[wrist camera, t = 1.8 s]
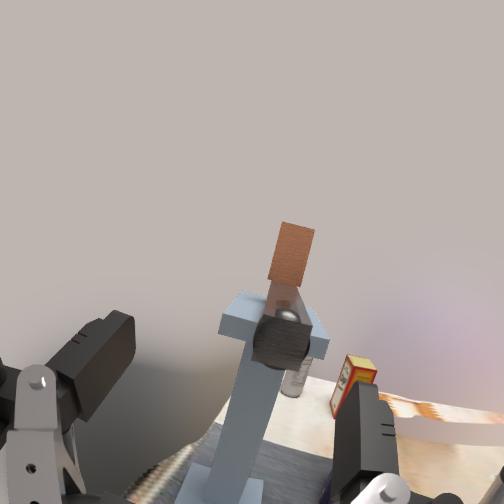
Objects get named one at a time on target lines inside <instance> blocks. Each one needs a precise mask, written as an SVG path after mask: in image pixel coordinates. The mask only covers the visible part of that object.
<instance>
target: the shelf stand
mask: <svg viewBox="0 0 504 504" xmlns="http://www.w3.org/2000/svg"><path fill="white" fill-rule="evenodd" d="M266 300H267V297H266V296H262V295H258V294H254V293H250V292H247V291H242V292H241V293H240V294H239V295H238V296H237V297H236V299H235V300H234V301H233V302H232V303H231V304H230V306H229V307H228V308H227V309H226V310H225V311H224V312H223V314H222V318H221V322H220V327H219V331H218V334H221V335H225V336H228V337H232V338H236V339H240V340H243V341H246V343H245V347H244V350H243V354H242V358H241V362H240V365H239V369H238V373H237V377H236V380H235V384H234V388H233V391H232V395H231V399H230V403H229V406H228V410H227V413H226V417H225V421H224V424H223V428H222V432H221V435H220V439H219V442H218V446H217V450H216V453H215V457H214V460H213V464H212V467H211V468H210V467H206V466H203V465H200V464H196V463H193V462H192V464H191V466H190V468H189V470H188V473H187V475H186V477H185V480H184V482H183V484H182V486H181V489H180V491H179V493H178V495H177V498H176V500H175V502H174V504H261V501H262V491H263V480H259V479H254V478H250V477H249V475H250V472H251V470H252V467H253V464H254V461H255V459H256V456H257V453H258V450H259V448H260V445H261V442H262V439H263V436H264V433H265V430H266V428H267V425H268V422H269V419H270V416H271V413H272V410H273V407H274V404H275V401H276V398H277V395H278V391H279V388H280V385H281V382H282V379H283V376H284V373H285V370H274V369H271V368H268V367H266V366H265V365H263V364H262V363H258V362H254V361H251V357H252V353H253V337H254V333H255V330H256V327H257V323H258V320H259V317H260V314H261V312H262V310H263V308H264V307H265V304H266ZM305 308H306V310H307V313H308V315H309V318H310V320H311V322H312V325H313V328H312V331H311V335H310V349H309V352H308V355H307V356H308V357H313V358H317V359H322V360H324V357H325V354H326V350H327V347H328V344H329V341H330V339H329V337H328V336H327V334H326V332H325V330H324V328H323V326H322V325H321V322H320V321H319V319H318V317H317V315H316V313H315V311H314V310H313V308H310V307H306V306H305Z"/></svg>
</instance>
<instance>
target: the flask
mask: <svg viewBox="0 0 504 504" xmlns="http://www.w3.org/2000/svg"><path fill="white" fill-rule="evenodd" d="M331 481H332V470H331V472H330V474H329V476H328V477H327V480H326V482H325V483H326V485H325V487H324V488H323V494H321V495H322V496H321V498H320V499H319V502H318V503H319V504H333V503H334V501H333V500H330V492H331Z"/></svg>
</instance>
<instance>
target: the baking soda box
mask: <svg viewBox="0 0 504 504" xmlns="http://www.w3.org/2000/svg"><path fill="white" fill-rule="evenodd" d="M376 373H377V369H376V368H375V367H374V366H373V364H372V363H371V361H370V360H369V359H367V358H362V357H357V356H352V355H347V356H346V359H345V362H344V365H343V368H342V371H341V373H340V376H339V379H338V382H337V385H336V387H335V390H334V393H333V395H332V398H331V401H330V403H329V404H330V407H331V411H332V414H333V418H334V419H336V416H337V413H338V410H339V408H340V406H341V404H342V403H343V401H344V399H345V398H346V396H347V394H348V392H349V391H350V389H351V387H352V385H353V384H354V382H355V381H360V382H366V383H371V384H373V381H374V379H375V376H376Z"/></svg>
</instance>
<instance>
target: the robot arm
mask: <svg viewBox="0 0 504 504" xmlns="http://www.w3.org/2000/svg"><path fill="white" fill-rule="evenodd" d="M135 349H136V342H135V320H134V317H132V316H130V315H127V314H124V313H122V312H119V311H117V310H113V311H112V312H111V313H110V314H109V315H108V316H107V317H106V318H105V319H104V320H102V319H100V318H98V319H96V320H94V321H92V322H89V323H88V324H86V325H85V326H84V327H83V328H82V329H81V330H80V331H79V332H78V334H76V335H75V336H74V337H73V338H72V339H71V341H68V342H67V343H66V344H65V345H64V347H63V348H62V349H60V350H59V351H58V352H57V354H55V356H53V357H52V358H51V359H50V360H49V362H48V363H46V364H45V365H44V366H43V365H31V366H28V367H26V368H25V369H23V370H19V369H15V368H11V367H8V366H5V365H3V363H2V360H1V358H0V450H1V448H2V447H3V446H4V444H5V443H6V442H7V444H6V450H7V451H6V452H7V453H6V454H7V482H8V497H9V504H135V503H132V502H130V501H128V500H126V499H124V498H121V497H119V496H117V495H115V494H113V493H111V492H109V491H107V490H106V491H105V492H104V494H103V496H102V495H96V494H86V490H85V487H84V483H83V480H82V478H81V475H80V471H79V466H78V460H77V454H76V447H75V439H74V430H73V424H72V423H73V422H74V421H75V419H76V418H77V417H78V418H79V419H81V420H83V421H85V422H87V421H88V420H89V419H90V417H91V416H92V415H93V413H94V412H95V411H96V409H97V408H98V406H99V405H100V404H101V402H102V401H103V400H104V398H105V397H106V396H107V394H108V393H109V392H110V390H111V389H112V387H113V386H114V384H115V383H116V382H117V381H118V379H119V378H120V377H121V375H122V374H123V373H124V371H125V370H126V368H127V367H128V366H129V365H130V363H131V362H132V360H133V358H134V354H135ZM395 435H396V434H395V428H394V417H393V412H392V410H391V408H390V407H389V405H388V403H387V401H383V400H379V395H378V387H377V385H376V384H371V383H366V382H360V381H355V382H354V384H353V385H352V387H351V389H350V391H349V392H348V394H347V396H346V398H345V399H344V401H343V403H342V404H341V406H340V408H339V410H338V413H337V416H336V421H335V437H334V454H333V468H332V481H331V492H330V500H333V501H340V504H463V502H462V500H461V499H460V498H459V497H458V496H456V495H454V494H452V493H443V494H441V495H439V496H437V497H436V498H435V499H432V498H429V497H426V496H423V495H420V494H417V493H414V492H412V491H411V490H410V488H409V485H408V484H407V482H406V481H405V480H404V479H403V478H402V477H400V475H399V466H398V454H397V444H396V437H395ZM479 504H504V466H503V468H502V469H501V471H500V473H499V474H498V476H497V477H496V479H495V480H494V482H493V483H492V485H491V487H490V488H489V490H488V491H487V492H486V494H485V495H484V497H483V498H482V499H481V501H480V502H479Z"/></svg>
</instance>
